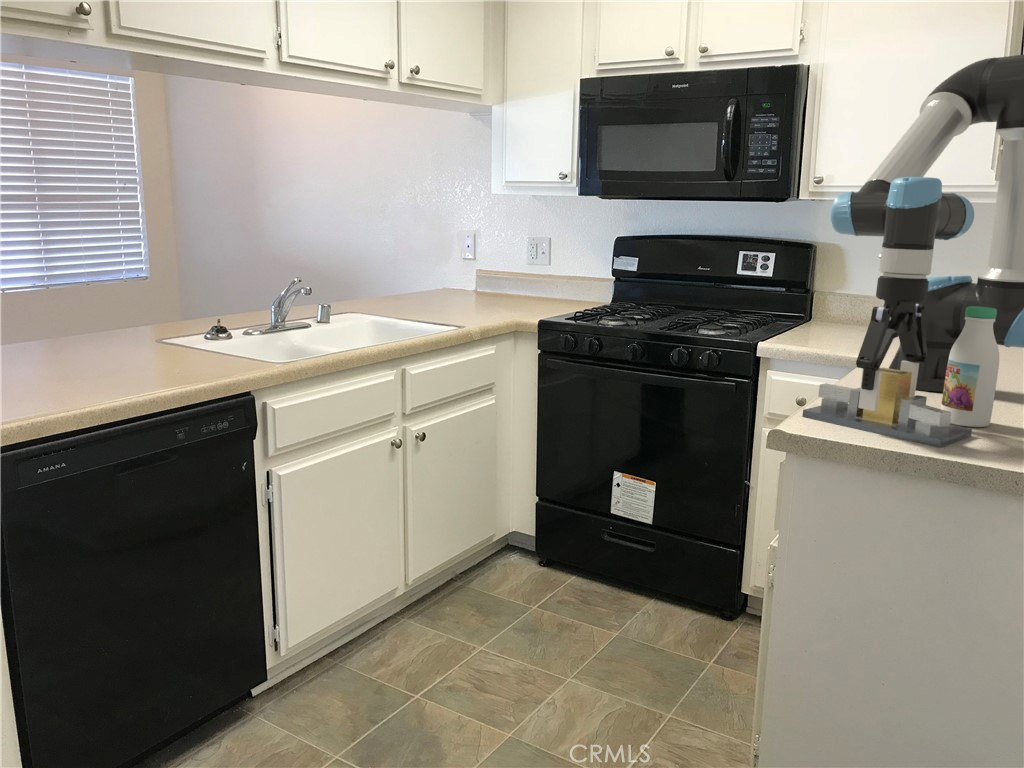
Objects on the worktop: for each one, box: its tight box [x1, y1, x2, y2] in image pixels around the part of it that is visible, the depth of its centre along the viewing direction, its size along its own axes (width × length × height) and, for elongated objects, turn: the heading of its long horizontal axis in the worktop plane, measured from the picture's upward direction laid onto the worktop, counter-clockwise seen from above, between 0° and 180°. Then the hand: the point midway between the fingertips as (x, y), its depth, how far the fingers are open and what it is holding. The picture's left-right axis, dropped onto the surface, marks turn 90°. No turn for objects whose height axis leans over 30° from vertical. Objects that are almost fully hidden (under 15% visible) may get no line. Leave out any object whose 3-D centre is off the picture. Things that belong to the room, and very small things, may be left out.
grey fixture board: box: [802, 383, 973, 448], centre depth 137 cm, size 12×23×6 cm, turn 41°
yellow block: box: [863, 367, 912, 423], centre depth 137 cm, size 5×5×8 cm
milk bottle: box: [940, 306, 1000, 428], centre depth 140 cm, size 8×8×20 cm
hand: (886, 404), depth 137 cm, fingers open, 13 cm apart
